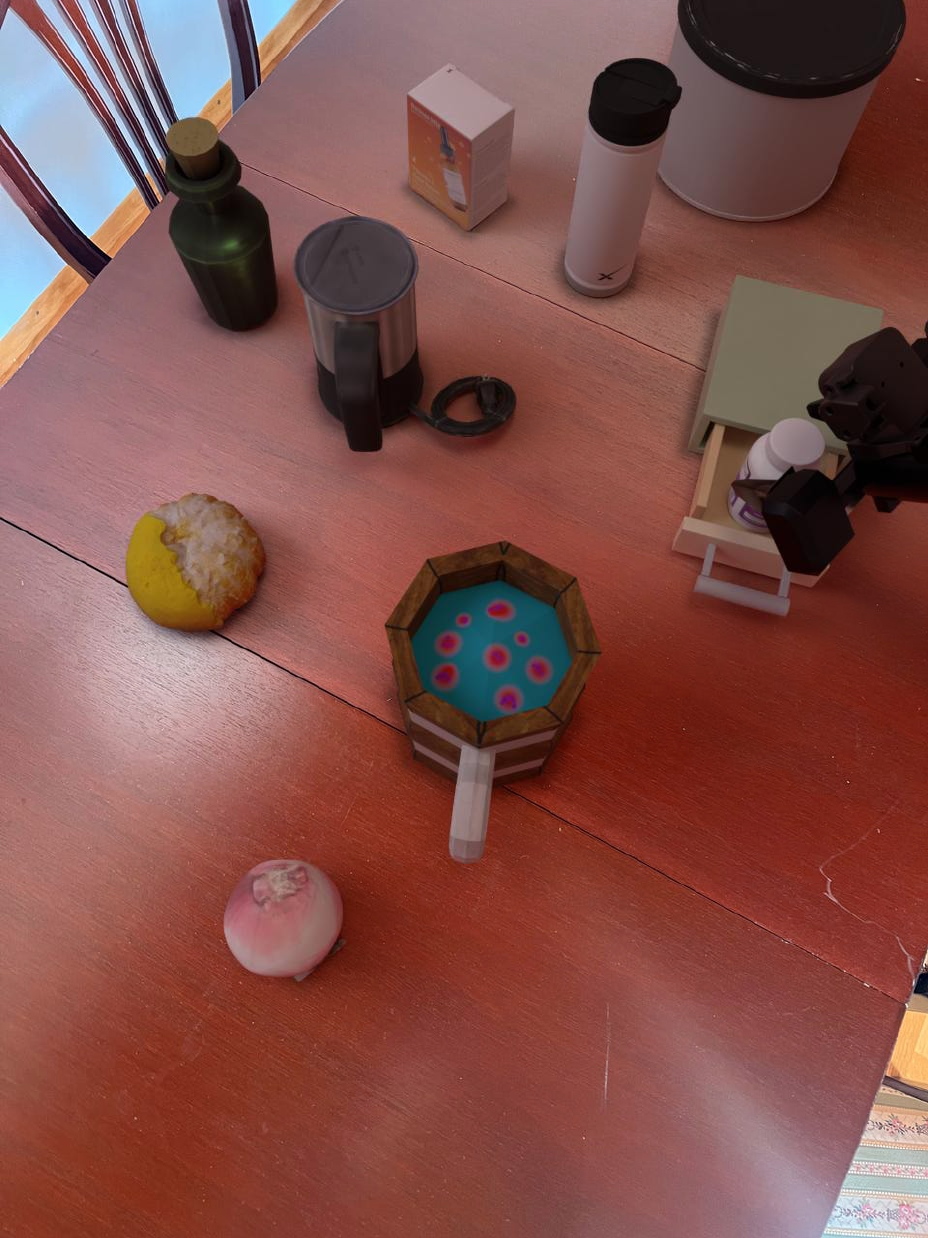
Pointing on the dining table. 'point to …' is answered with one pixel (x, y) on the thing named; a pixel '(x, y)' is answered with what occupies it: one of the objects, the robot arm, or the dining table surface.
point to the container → (771, 98)
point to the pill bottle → (776, 463)
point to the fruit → (193, 563)
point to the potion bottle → (219, 227)
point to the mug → (488, 673)
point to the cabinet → (776, 358)
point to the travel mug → (617, 172)
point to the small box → (459, 145)
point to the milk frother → (377, 334)
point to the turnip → (284, 919)
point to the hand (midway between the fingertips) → (772, 448)
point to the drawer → (735, 526)
